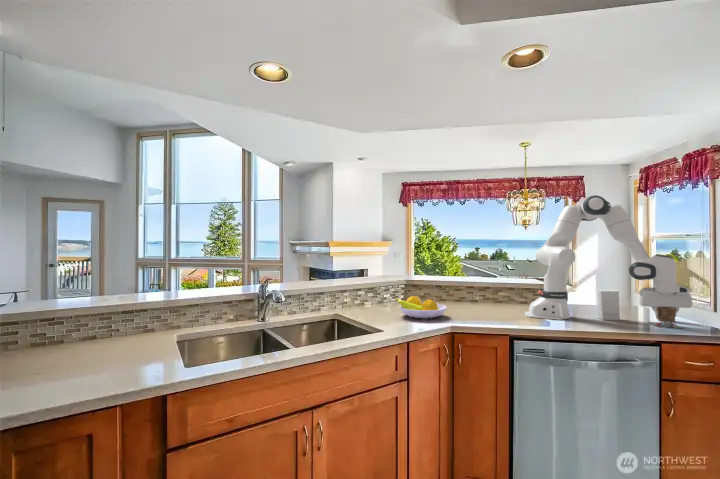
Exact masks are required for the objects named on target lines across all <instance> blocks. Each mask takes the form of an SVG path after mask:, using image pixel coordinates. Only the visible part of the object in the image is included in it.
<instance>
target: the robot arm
mask: <svg viewBox="0 0 720 479" xmlns="http://www.w3.org/2000/svg"><path fill="white" fill-rule="evenodd" d="M596 219H600V220H602V222H603V223H604V225H605V226H606V230H608V233H609V234H610V236H611V237H612V238H613V239H614V240H615V241H617V242H619V243H621V244H623V245H624V246H625V247H626V248H627V249H628V251H629V253H630V254H631V256H632V259H633V260H634V262H633V263H631V264H630V265H629V267H628V273H629V275H630V277H631V278H633V279H634V280H639V281H647V280H648V281H649V280H652V287H643V288H640V290H639V305H640V306H641V307H646V308H647V307H648V308H650V307H651V310H652V311H653V313H654V316H655V317H656V316H660V313H659V312H657V310H656V309H657V307H673V308H675V318H676V317H677V313H678V312H679V311H680V309H682V308H683V309H691V308H692V307H693V299H692V295H691V294H690V291H691V290H690V288H688V287H684V286H682V285H679V284H678V283H677V282H678V281H677V279H676V276H677V264H676V263H677V262H676V260H675V258H674V257H672V256H670V255H664V254H653V256H651V257H650V255H649V254H648V253H647V251H646V249H645V247H644V246H643V244H642V242H641V240H640V238H639V235H638V233H637V230H636V228H635V226H634V223H633V222H632V219H631V218H630V216H629V214H628V213H627V212H626V211H625V209H624V208H623V206H622V205H620V204H617V203H614V204H613V203H612V204H611V203H610V202H609V201H607V200H606V199H605V198H603V196H601V195H596V194H595V195H590V196H589V197H586V198H585V200H584V201H582V203H581V204H580V205H572V204H570V205H566V206H564V208H563V209H562V210H561V212H560V213H559V215H558V218H557V220H556V222H555V224H554V226H553V229H552V232H551V234H550V235H549V237H548V238H547V239H546V241H545V243H544V244H543V245H542V246H541V247H540V248H538V249H537V251H536V252H535V258H536V259H535V260H536V261H538V263H539V264H542V265H544V266H548V268H547V271H546V274H545V275H544V276H543V290H538V291H537V294H538V295H539V297H538V298H536V299H535V300H534V301H531V303H530V304H529V308H528V310H527V311H525V312H524V315H525V316H526V317H528V318H534V319H535V318H536V319H547V320H558V321H560V320H561V321H562V320H567V319H570V318H571V315H570V312H569V306H568V300H569V294H568V291H567V283H568V282H567V279H568V278H567V277H568V273H569V270H570V269H571V268H570V267H571V266H572V265H573V264H574V263H575V261H576V253H575V252H574V250H572V249H571V248H568V247H567V246H568V245H569V244H570V243H572V242H573V240H574V239H575V237H576V234H577V231H578V228H580V227H579V226H580V223H581V222H583V221H585V222H590V221H594V220H596Z"/></svg>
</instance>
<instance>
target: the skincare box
mask: <svg viewBox="0 0 720 479" xmlns="http://www.w3.org/2000/svg"><path fill="white" fill-rule="evenodd" d="M596 291H597V292H596V293H597V295H596V296H597V297H596V298H597V318H598V319H600V320H601V321H617V322H618V321H619V322H620V320H621V319H620V292H619V290H616V289H596Z"/></svg>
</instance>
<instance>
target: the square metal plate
mask: <svg viewBox="0 0 720 479" xmlns="http://www.w3.org/2000/svg"><path fill="white" fill-rule="evenodd" d="M648 324H651V325H653V326H654V327H657V328H663V327H665V328H666V329H668V328H669V329H681V330H682V329H685V327H683V326H680V325H678V324H676V323H674V322H668V321H659V322H655V321H653V322H652V321H648Z"/></svg>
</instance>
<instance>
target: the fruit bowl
mask: <svg viewBox="0 0 720 479" xmlns="http://www.w3.org/2000/svg"><path fill="white" fill-rule="evenodd" d="M395 300H396V301H397V302H398V304H399V309H400V311H401V313H402V314H403V315H406V316H408V317H409V318H412V317H415V318H414V319H418V318H430V319H433V318H436V317H440V316H442V315H443V314H444V313H445V312H446V311H447V309H448V308H447V306H446V305H445V304H440V303H437V302H436V301H434V300H432V299H429V298H428V299H426V300H425V301H423V302H422V299H421V298H420V297H419V296H417V295H415V296H414V295H411V296H410V297H408V298H407V299H406V301H405V300H401V299H399V298H398V297H396V298H395Z"/></svg>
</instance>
